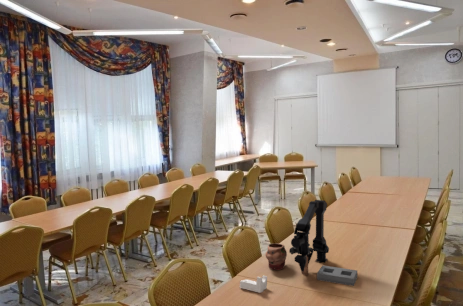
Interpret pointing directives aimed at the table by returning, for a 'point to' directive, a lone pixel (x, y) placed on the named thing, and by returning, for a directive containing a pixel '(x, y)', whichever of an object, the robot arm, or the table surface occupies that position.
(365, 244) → the table surface
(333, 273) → the hole board
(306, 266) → the pin
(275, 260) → the decorative planter
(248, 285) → the bracket
